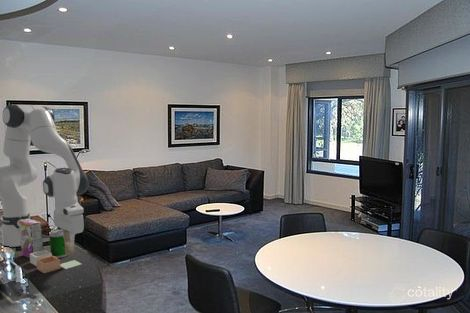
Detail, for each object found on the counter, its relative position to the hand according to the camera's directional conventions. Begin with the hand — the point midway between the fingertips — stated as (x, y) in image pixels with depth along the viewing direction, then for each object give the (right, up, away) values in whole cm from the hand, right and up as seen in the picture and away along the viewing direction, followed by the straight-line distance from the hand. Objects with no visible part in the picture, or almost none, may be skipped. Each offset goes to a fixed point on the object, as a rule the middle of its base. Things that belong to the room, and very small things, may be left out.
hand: (69, 239), depth 170 cm
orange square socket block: (-7, -12, -3) cm, 14 cm away
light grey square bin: (-14, -11, +4) cm, 18 cm away
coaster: (0, -11, +1) cm, 11 cm away
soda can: (-9, -10, +12) cm, 18 cm away
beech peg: (0, -5, +1) cm, 6 cm away
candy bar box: (-22, -11, +13) cm, 27 cm away
